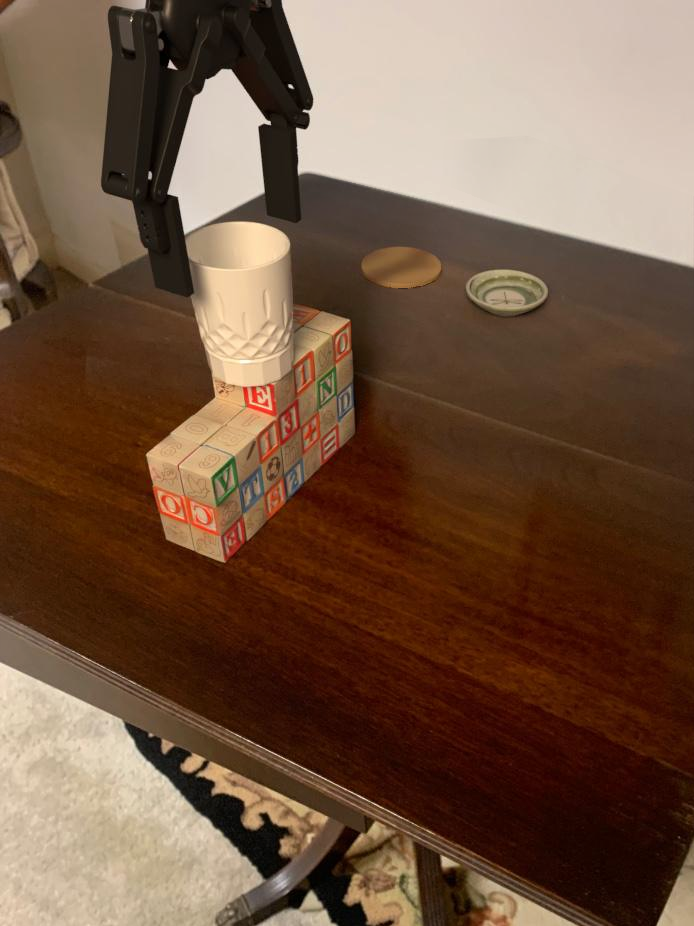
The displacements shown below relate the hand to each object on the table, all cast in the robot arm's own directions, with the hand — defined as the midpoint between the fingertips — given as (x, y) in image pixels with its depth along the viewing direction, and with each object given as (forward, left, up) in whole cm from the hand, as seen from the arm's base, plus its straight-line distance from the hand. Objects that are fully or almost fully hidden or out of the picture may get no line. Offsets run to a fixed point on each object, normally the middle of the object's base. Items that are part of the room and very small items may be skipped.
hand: (233, 252), depth 65 cm
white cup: (0, 0, -10) cm, 10 cm away
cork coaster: (-9, +43, -22) cm, 49 cm away
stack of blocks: (0, 0, -22) cm, 22 cm away
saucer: (+6, +41, -22) cm, 47 cm away
